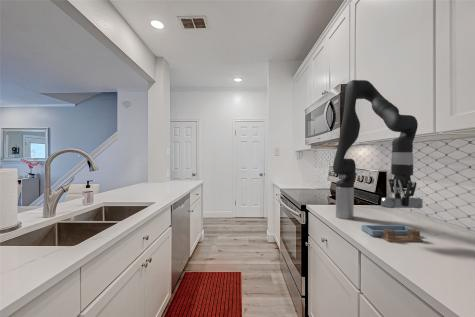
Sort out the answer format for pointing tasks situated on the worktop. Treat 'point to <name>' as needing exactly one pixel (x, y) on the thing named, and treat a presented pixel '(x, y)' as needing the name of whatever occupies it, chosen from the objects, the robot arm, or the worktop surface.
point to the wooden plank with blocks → (411, 236)
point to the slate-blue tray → (378, 229)
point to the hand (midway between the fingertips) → (401, 204)
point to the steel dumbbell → (397, 202)
